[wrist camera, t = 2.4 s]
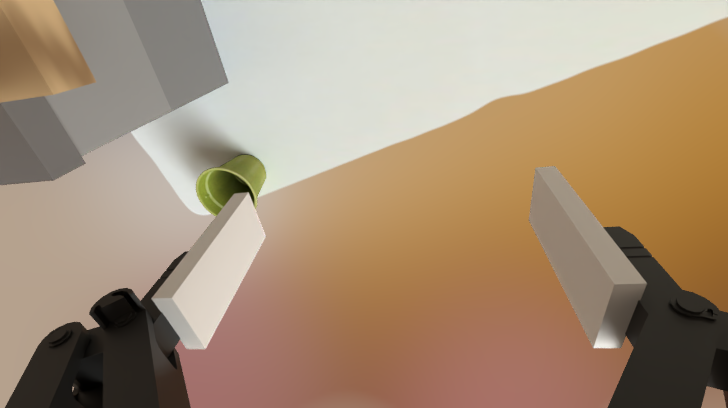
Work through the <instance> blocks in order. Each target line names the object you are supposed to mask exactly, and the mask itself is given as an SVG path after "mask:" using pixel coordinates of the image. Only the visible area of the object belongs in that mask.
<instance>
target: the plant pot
mask: <svg viewBox="0 0 728 408" xmlns="http://www.w3.org/2000/svg"><path fill="white" fill-rule="evenodd" d="M239 177H240V178H241V179H242V180H244V181H245V182H244V181H242V180H241V179H240V178H239ZM265 179H266V172H265V168H264V166H263V164H262V163H261V162H260V161H259V160H258V159H257V158H255V157H253V156H251V155H239V156H237V157H235V158H234V159H232V160H230V161H229V162H227V163H225V164H224V165H222V166H220V167H215V168H210V169H207V170H205V171H204V172H203V173H202V174H200V176H199V177H198V179H197V182H196V192H197V196H198V198H199V200H200V202H201V203H202V205H203V206H204V207H205V208H206V209H207V210H208V211H209V212H210V213H211V214H213V215H214V216H217V215H218V214H219V212H220V211H221V210H222V208H223V207H224V206H225V205H226V203H227V202H228V201H229V200H230V198H231V197H232V196H233V195H234V194H235V193H247V192H249V195H250V197H251V200H252V202H253V205H254V207H255V210H256V207H257V196H258V194H259V192H260V190H261V187H262V185H263V183H264V181H265Z"/></svg>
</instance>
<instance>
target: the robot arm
mask: <svg viewBox="0 0 728 408" xmlns="http://www.w3.org/2000/svg"><path fill="white" fill-rule="evenodd" d="M529 221H530V223H531V225H532V227H533V229H534V231H535V233H536V235H537V237H538V239H539V241H540V243H541V245H542V247H543V249H544V251H545V253H546V255H547V257H548V259H549V261H550V263H551V265H552V267H553V269H554V271H555V273H556V275H557V277H558V279H559V281H560V283H561V285H562V287H563V289H564V291H565V293H566V295H567V297H568V299H569V301H570V303H571V305H572V307H573V309H574V311H575V313H576V315H577V317H578V318H579V320H580V323H581V325H582V327H583V328H584V331H585V332H586V334H587V336H588V339H589V340H590V342H591V344H592V346H593V348H621V347H622V344H623V342H624V339H625V337H626V336H627V338H628V339H629V341H630V342H631V344H632V346H633V347H634V349H633V351H632V353H631V355H630V358H629V360H628V362H627V365H626V367H625V369H624V371H623V374H622V376H621V378H620V381H619V383H618V385H617V388H616V390H615V392H614V394H613V397H612V399H611V401H610V404H609V406H608V408H701V406H702V402H703V398H704V394H705V390H706V386H709V387H713V388H717V389H720V390H723V392H724V396H725V402H726V407H727V408H728V313H727V312H723V311H719V309H718V308H717V307H716V306H715V305H714V304H713V303H711V302H710V301H709V300H707V299H706V298H704V297H701V296H699V295H697V294H695V293H693V292H689V291H685V290H682V289H681V288H680V287H679V286H678V285H677V283H676V282H675V281H674V280H673V279H672V278H671V277H670V275H669V274H668V273H667V272H666V271H665V270H664V269H663V267H662V266H661V265H660V264H659V263H658V262H657V261H656V260H655V259H654V258H653V257H652V255H651V254H650V253H649V252H648V250H647V249H645V248H644V246H643V245H642V244H641V243H640V242H639V240H638V239H637V238H636V237H635V236H634V235H633V234H631V233H629V232H627V231H626V230H624V229H623V228H621V227H602V225H601V224H600V223H599V222H598V220H597V219H596V218H595V216H594V215H593V214H592V213H591V211H590V210H589V209H588V208H587V206H586V205H585V204H584V203H583V201H582V200H581V199H580V197H579V196H578V195H577V193H576V192H575V191H574V190H573V188H572V187H571V186H570V185H569V183H568V182H567V181H566V179H565V178H564V177H563V176H562V174H561V173H560V172H559V171H558V169H557V168H556V167H555V166H551V167H540V168H536V169H535V177H534V185H533V192H532V200H531V208H530V216H529ZM265 237H266V235H265V233H264V230H263V228H262V225H261V223H260V220H259V218H258V215H257V212H256V210H255V207H254V205H253V202H252V200H251V197H250V195H249V192H247V193H235V194H234V195H233V196H232V197H231V198H230V200H229V201H228V202H227V203H226V205H225V206H224V207H223V208H222V210H221V211H220V212H219V214H218V215H217V216H216V217H215V219H214V220H213V221H212V222H211V224H210V225H209V226H208V227H207V229H206V230H205V231H204V233H203V234H202V235H201V236H200V238H199V239H198V240H197V242H196V243H195V244H194V245H193V247H192V248H191V249H190V250H189V251H188V252H184V253H183V254H182V255H180V256H179V257H178V258H176V259H175V260H174V261H173V262H172V263H171V265H170V266H169V267H168V268H167V271H165V272H164V273H163V275H162V276H161V278H160V279H158V281H157V282H156V283H155V284H154V285H153V287H152V288H151V289H150V290H149V292H148V293H147V294H146V295H145V296H144V298H143V299H142V300H141V301H140V300H139V299H138V298H137V296H136V295H135V294H134V292H133V291H132V290H131V289H128V288H123V289H118V290H115V291H112V292H110V293H109V294H107V295H105V296H103V297H102V298H101V299H100V300H98V301H97V302H96V303H95V304H94V305H93V307H92V308H91V310H90V315H91V316H92V317H93V319H94V320H95V321H96V322H97V323H98V324H99V325H100V327H97V328H93V329H90V330H86V328H84V326H83V325H82V324H81V323H80V322H72V323H67V324H65V325H63V326H61V327H59V328H57V329H55V330H53V331H52V332H51V333H49V334H48V336H46V337H45V338H44V339H43V340H42V342H41V343H40V344H39V345H38V347H37V349H36V351H35V353H34V355H33V356H32V358H31V360H30V362H29V364H28V366H27V368H26V370H25V371H24V373H23V375H22V377H21V379H20V381H19V383H18V384H17V386H16V388H15V390H14V392H13V394H12V396H11V397H10V399H9V401H8V403H7V405H6V407H5V408H191V407H190V403H189V398H188V394H187V390H186V385H185V380H184V376H183V372H182V367H181V363H180V358H179V354H178V352H177V351H176V349H175V346H176V345H177V343H178V341H179V340H181V341H182V343H183V344H184V345H185V347H186V348H187V349H206V347H207V345H208V343H209V341H210V340H211V338H212V336H213V334H214V332H215V330H216V328H217V327H218V324H219V323H220V321H221V319H222V317H223V315H224V314H225V312H226V310H227V308H228V306H229V304H230V302H231V301H232V299H233V297H234V295H235V293H236V291H237V289H238V287H239V285H240V284H241V282H242V280H243V278H244V276H245V274H246V273H247V271H248V269H249V267H250V265H251V263H252V261H253V260H254V258H255V256H256V254H257V252H258V250H259V248H260V247H261V245H262V243H263V241H264V239H265ZM72 387H74V390H73V392H72Z"/></svg>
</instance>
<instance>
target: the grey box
mask: <svg viewBox="0 0 728 408" xmlns="http://www.w3.org/2000/svg"><path fill="white" fill-rule="evenodd" d="M53 1H54V3H55V5H56V6H57V8H58V10H59V12H60V14H61V16H62V18H63V20H64V21H65V23H66V25H67V27H68V29H69V31H70V33H71V35H72V37H73V38H74V40H75V42H76V44H77V46H78V48H79V50H80V52H81V54H82V55H83V57H84V59H85V61H86V63H87V65H88V67H89V69H90V71H91V72H92V74H93V76H94V78H95V80H96V82H95V83H92V84H89V85H85V86H82V87H78V88H75V89H71V90H68V91H65V92H61V93H58V94H54V95H48V96H42V97H35V98H28V99H21V100H14V101H7V102H1V103H0V185H7V184H19V183H30V182H40V181H53V180H55V179H57V178H59V177H61V176H63V175H65V174H67V173H69V172H70V171H72V170H74V169H76V168H78V167H80V166H82V165H84V164H85V161H84V160H83V158H82V156H83V155H85V154H87V153H89V152H91V151H93V150H95V149H97V148H99V147H101V146H103V145H105V144H107V143H109V142H111V141H113V140H115V139H117V138H119V137H121V136H123V135H125V134H127V133H129V132H131V131H133V130H135V129H137V128H139V127H141V126H143V125H145V124H147V123H149V122H151V121H153V120H155V119H157V118H159V117H161V116H163V115H165V114H167V113H169V112H171V111H173V110H175V109H177V108H179V107H181V106H183V105H185V104H187V103H189V102H191V101H193V100H195V99H197V98H199V97H201V96H203V95H205V94H207V93H209V92H211V91H213V90H215V89H217V88H219V87H221V86H223V85H225V84H227V83H228V80H227V77H226V74H225V71H224V68H223V65H222V62H221V59H220V56H219V53H218V50H217V47H216V44H215V42H214V39H213V36H212V33H211V30H210V27H209V24H208V21H207V18H206V15H205V12H204V9H203V6H202V3H201V0H53Z"/></svg>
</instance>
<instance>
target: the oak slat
mask: <svg viewBox="0 0 728 408" xmlns="http://www.w3.org/2000/svg"><path fill="white" fill-rule="evenodd" d="M95 82H96V80H95V78H94V76H93V74H92V72H91V71H90V69H89V67H88V65H87V63H86V61H85V59H84V57H83V55H82V54H81V52H80V50H79V48H78V46H77V44H76V42H75V40H74V38H73V37H72V35H71V33H70V31H69V29H68V27H67V25H66V23H65V21H64V20H63V18H62V16H61V14H60V12H59V10H58V8H57V6H56V5H55V3H54V1H53V0H0V103H1V102H7V101H14V100H21V99H28V98H35V97H42V96H48V95H54V94H58V93H61V92H65V91H68V90H71V89H75V88H78V87H82V86H85V85H89V84H92V83H95Z"/></svg>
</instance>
